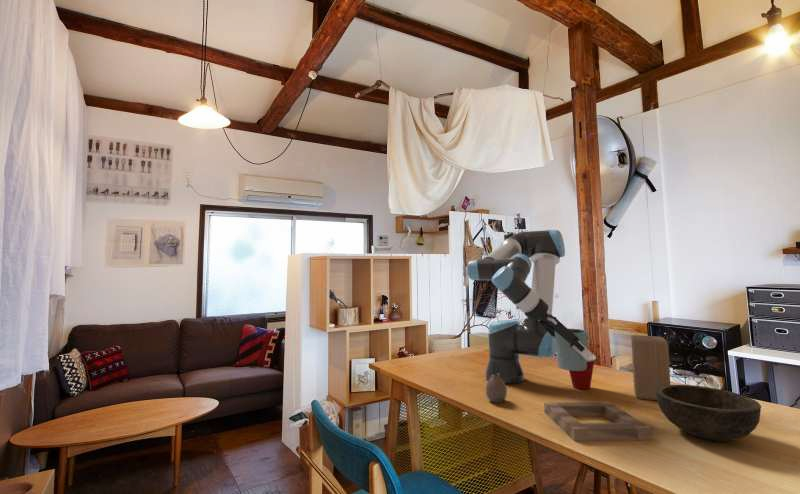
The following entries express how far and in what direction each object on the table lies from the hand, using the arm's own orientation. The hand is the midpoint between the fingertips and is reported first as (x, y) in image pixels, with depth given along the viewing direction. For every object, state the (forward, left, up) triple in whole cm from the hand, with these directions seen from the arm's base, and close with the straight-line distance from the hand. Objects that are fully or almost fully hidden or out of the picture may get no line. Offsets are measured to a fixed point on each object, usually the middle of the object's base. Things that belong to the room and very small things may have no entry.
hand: (581, 353), depth 126 cm
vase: (-5, -27, -17) cm, 32 cm away
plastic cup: (-18, +8, -17) cm, 26 cm away
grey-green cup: (0, -3, -5) cm, 6 cm away
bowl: (+24, +21, -17) cm, 36 cm away
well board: (+16, -5, -16) cm, 23 cm away
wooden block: (-7, +27, -17) cm, 33 cm away
